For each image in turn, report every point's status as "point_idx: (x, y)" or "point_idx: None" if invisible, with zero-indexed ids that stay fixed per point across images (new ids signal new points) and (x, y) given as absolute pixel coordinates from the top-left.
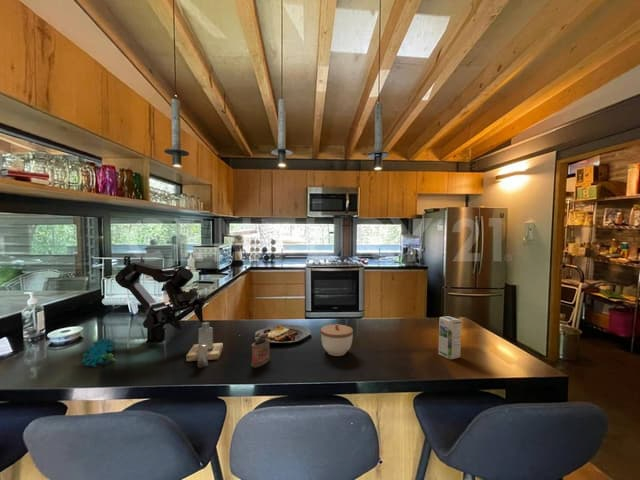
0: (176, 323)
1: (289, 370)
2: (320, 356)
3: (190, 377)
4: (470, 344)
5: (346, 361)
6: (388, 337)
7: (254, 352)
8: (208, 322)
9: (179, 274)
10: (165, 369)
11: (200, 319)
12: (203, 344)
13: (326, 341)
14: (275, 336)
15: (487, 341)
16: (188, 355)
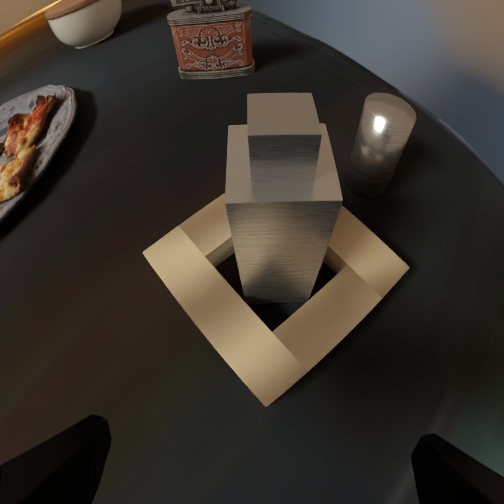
0: (499, 478)
1: None
2: (123, 37)
3: (434, 150)
4: None
5: (135, 16)
6: (18, 50)
7: (250, 25)
8: (251, 103)
9: None
10: (486, 277)
11: (90, 460)
12: (381, 112)
13: (115, 3)
14: (6, 163)
15: (39, 12)
16: (400, 259)
